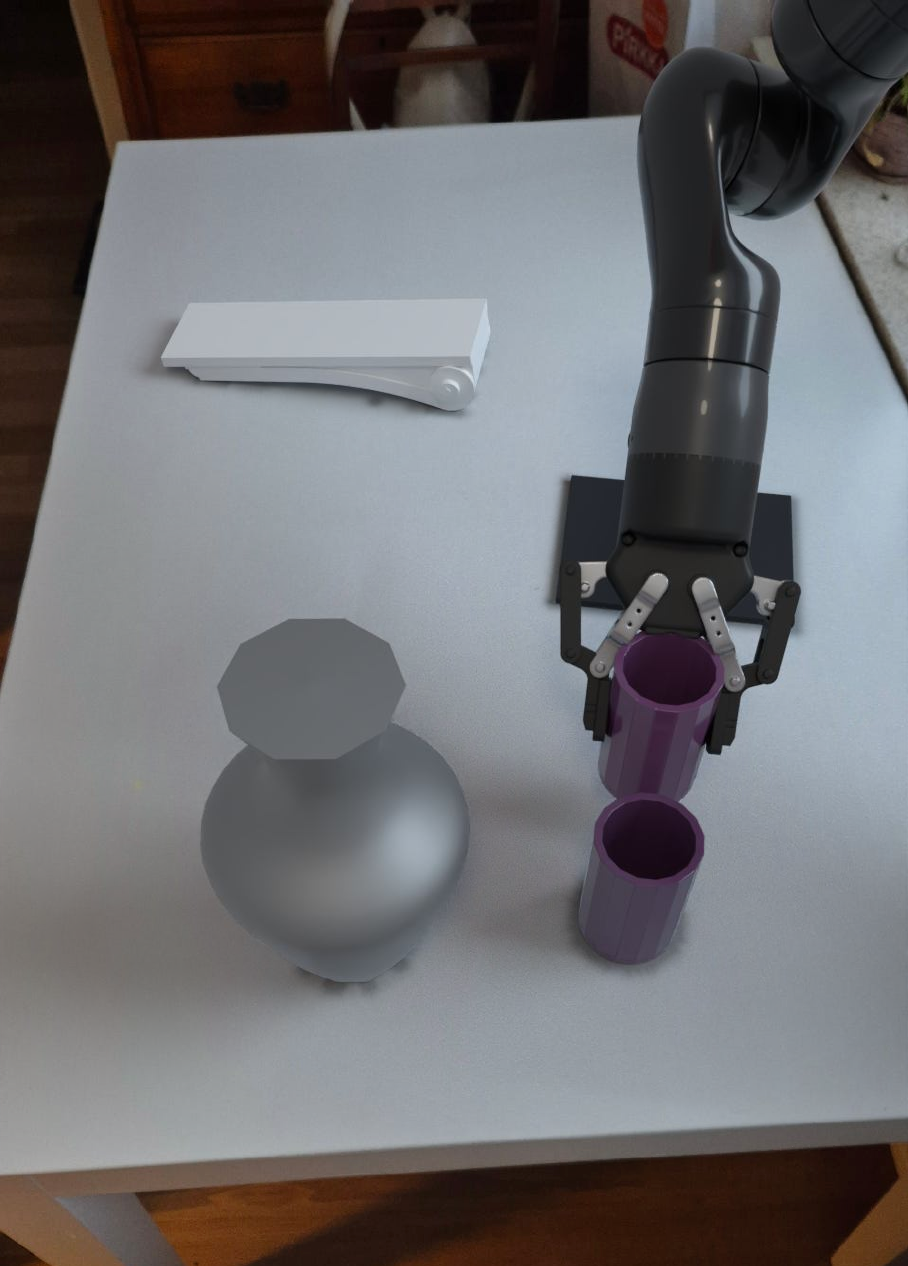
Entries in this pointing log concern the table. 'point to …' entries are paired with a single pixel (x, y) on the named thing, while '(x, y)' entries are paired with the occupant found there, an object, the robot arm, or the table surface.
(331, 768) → the vase
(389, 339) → the wall bracket
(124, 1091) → the table surface
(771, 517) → the mat
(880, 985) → the table surface
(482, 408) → the table surface
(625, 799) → the plum cup
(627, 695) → the plum cup
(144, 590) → the table surface
